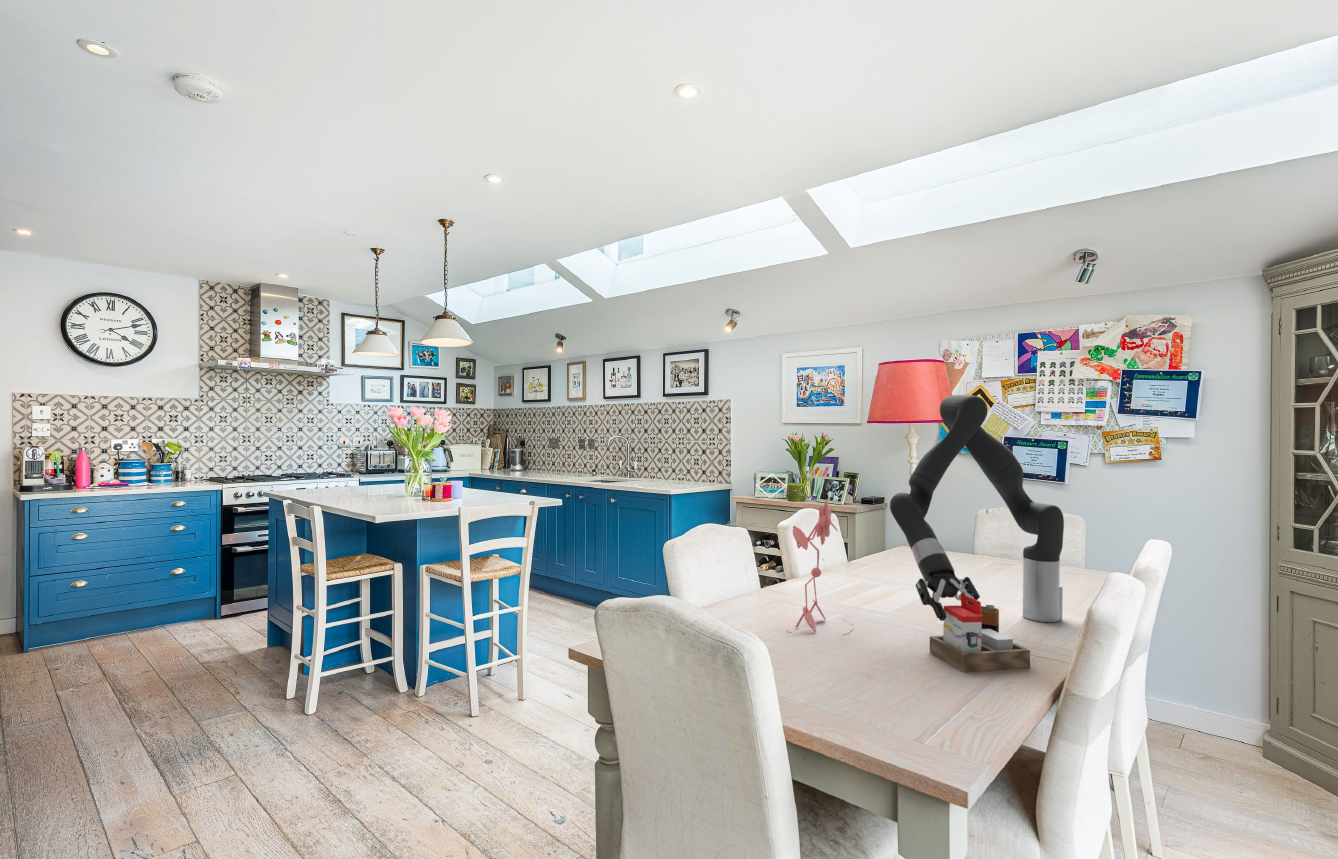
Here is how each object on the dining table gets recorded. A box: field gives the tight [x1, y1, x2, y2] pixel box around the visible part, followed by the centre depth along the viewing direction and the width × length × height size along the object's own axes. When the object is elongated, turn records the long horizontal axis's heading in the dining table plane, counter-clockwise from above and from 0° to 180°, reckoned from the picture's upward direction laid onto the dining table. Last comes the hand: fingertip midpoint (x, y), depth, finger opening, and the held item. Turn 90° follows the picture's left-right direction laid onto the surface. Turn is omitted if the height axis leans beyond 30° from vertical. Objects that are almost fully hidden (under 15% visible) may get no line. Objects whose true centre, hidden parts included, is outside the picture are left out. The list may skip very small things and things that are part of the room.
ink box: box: [942, 593, 982, 653], centre depth 153 cm, size 8×5×15 cm, turn 8°
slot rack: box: [929, 635, 1031, 673], centre depth 153 cm, size 17×13×4 cm
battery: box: [981, 604, 1000, 633], centre depth 165 cm, size 4×7×10 cm, turn 55°
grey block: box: [981, 629, 1014, 651], centre depth 154 cm, size 4×8×6 cm, turn 11°
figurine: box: [785, 499, 854, 636], centre depth 178 cm, size 15×26×35 cm, turn 151°
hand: (960, 618), depth 154 cm, fingers open, 8 cm apart
